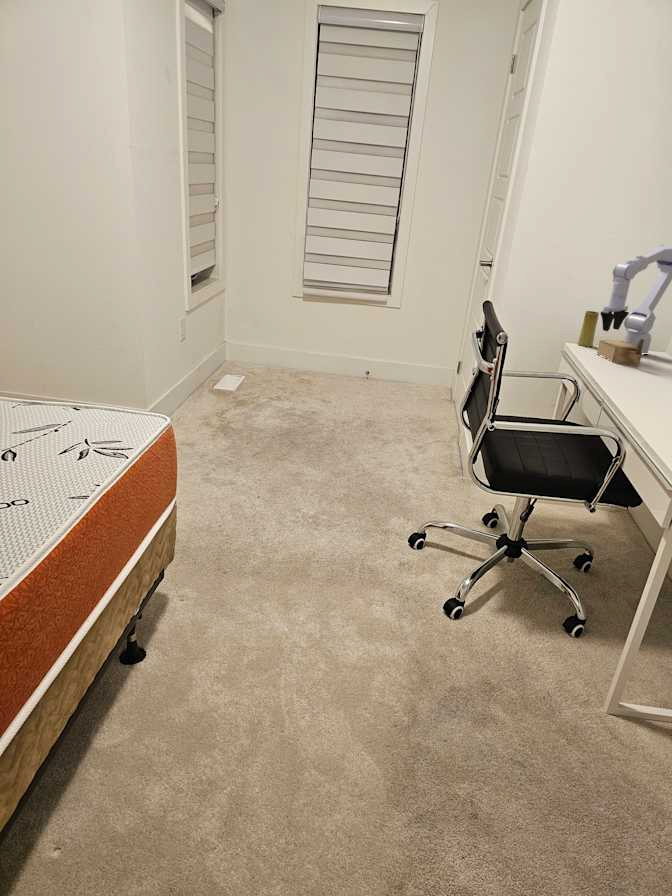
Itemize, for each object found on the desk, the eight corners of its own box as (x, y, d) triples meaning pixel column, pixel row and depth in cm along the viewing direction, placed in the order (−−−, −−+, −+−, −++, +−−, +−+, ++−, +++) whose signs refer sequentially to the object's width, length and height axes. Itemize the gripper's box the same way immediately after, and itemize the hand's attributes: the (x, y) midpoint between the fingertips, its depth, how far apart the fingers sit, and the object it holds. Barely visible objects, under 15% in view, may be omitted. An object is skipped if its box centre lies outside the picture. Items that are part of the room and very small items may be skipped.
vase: (595, 347, 260) (603, 313, 254) (583, 347, 258) (591, 313, 253) (586, 343, 265) (593, 310, 260) (574, 343, 264) (581, 310, 258)
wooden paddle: (638, 367, 229) (645, 339, 225) (635, 368, 228) (643, 340, 224) (613, 361, 236) (619, 334, 232) (610, 362, 235) (617, 334, 231)
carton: (618, 355, 248) (622, 340, 246) (635, 362, 238) (638, 347, 236) (596, 354, 247) (599, 340, 244) (611, 361, 237) (615, 346, 234)
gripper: (619, 292, 244) (611, 326, 249) (599, 294, 236) (591, 329, 241) (636, 295, 239) (627, 330, 244) (616, 297, 231) (607, 332, 236)
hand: (610, 329), depth 242 cm, fingers open, 7 cm apart
